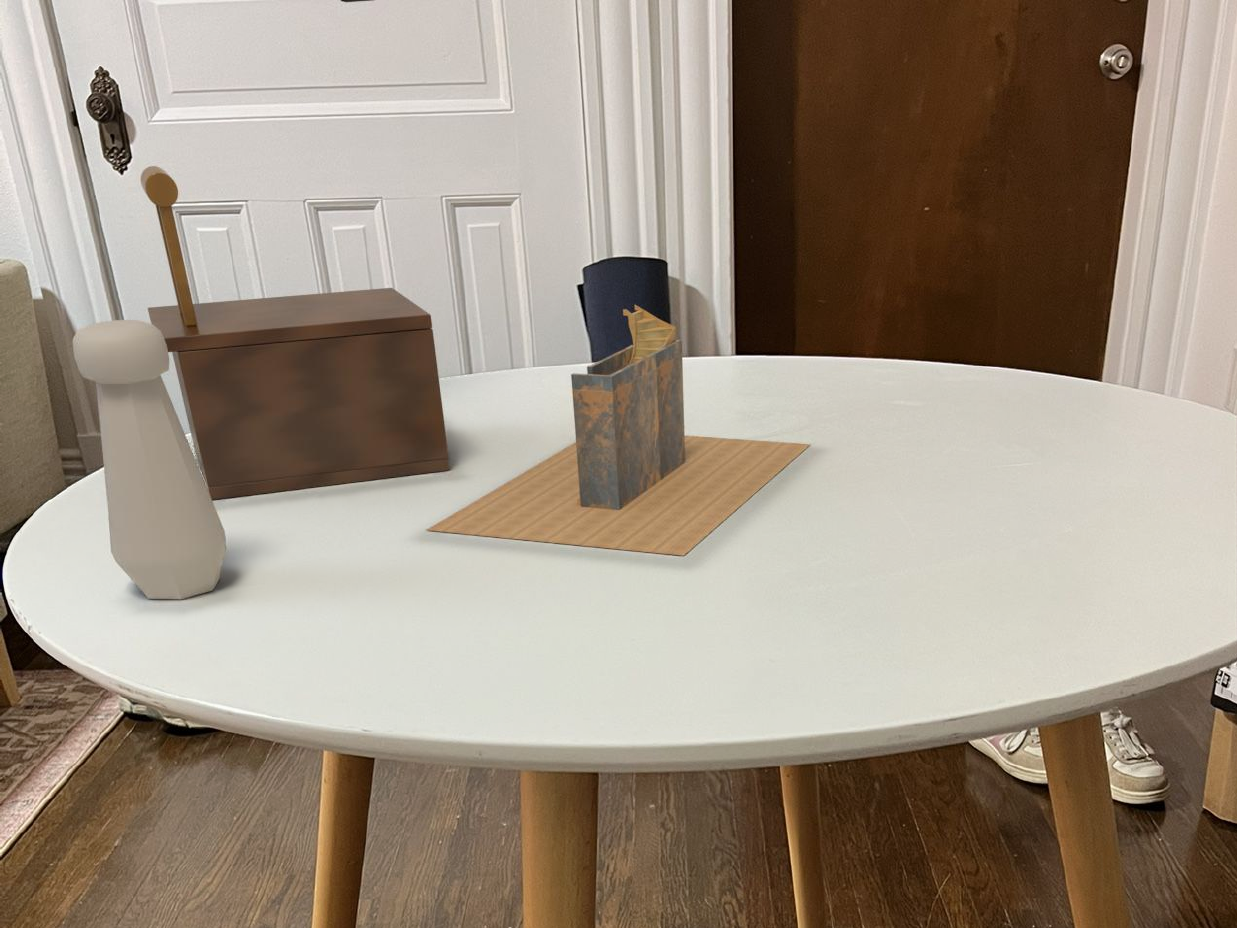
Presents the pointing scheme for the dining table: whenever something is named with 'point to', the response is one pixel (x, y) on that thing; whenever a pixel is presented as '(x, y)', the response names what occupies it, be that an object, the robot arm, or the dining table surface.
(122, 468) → the salt shaker
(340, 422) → the box
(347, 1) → the robot arm
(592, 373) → the architectural model on board
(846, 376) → the dining table surface
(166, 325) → the caddy lid
